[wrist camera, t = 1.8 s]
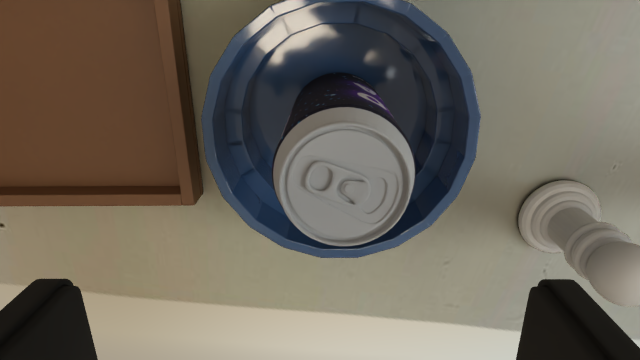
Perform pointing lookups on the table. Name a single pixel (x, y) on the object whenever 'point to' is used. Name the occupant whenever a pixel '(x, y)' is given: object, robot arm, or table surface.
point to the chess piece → (583, 239)
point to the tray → (96, 104)
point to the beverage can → (342, 163)
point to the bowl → (344, 57)
